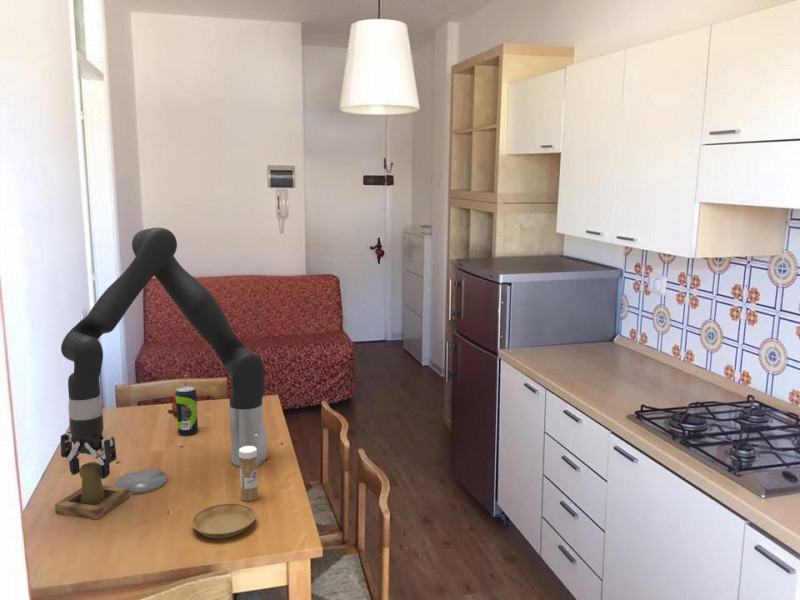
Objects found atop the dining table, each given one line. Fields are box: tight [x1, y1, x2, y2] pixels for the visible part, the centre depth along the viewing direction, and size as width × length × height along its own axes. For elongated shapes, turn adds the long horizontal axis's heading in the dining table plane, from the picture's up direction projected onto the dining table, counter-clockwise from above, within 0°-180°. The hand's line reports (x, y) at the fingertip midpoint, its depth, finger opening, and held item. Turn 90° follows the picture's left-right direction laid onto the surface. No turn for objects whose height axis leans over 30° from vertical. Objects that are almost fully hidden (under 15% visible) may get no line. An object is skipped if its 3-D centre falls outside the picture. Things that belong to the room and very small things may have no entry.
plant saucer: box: [191, 502, 257, 540], centre depth 159 cm, size 15×15×3 cm
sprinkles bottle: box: [239, 446, 259, 502], centre depth 172 cm, size 5×5×14 cm
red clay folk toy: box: [171, 371, 190, 418], centre depth 233 cm, size 8×7×15 cm
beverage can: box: [175, 385, 199, 437], centre depth 216 cm, size 6×6×15 cm
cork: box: [78, 461, 106, 506], centre depth 168 cm, size 6×6×11 cm
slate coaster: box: [114, 469, 168, 495], centre depth 181 cm, size 13×13×1 cm
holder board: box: [54, 484, 130, 521], centre depth 169 cm, size 12×12×2 cm
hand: (89, 475), depth 168 cm, fingers open, 8 cm apart
